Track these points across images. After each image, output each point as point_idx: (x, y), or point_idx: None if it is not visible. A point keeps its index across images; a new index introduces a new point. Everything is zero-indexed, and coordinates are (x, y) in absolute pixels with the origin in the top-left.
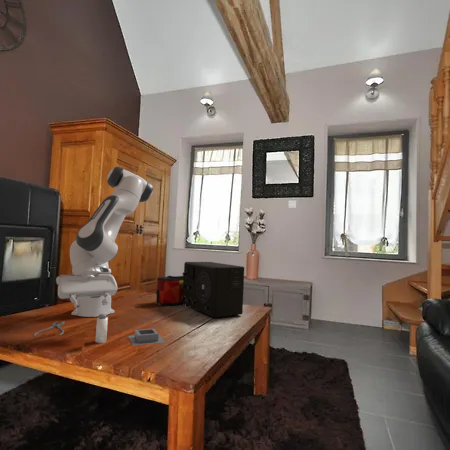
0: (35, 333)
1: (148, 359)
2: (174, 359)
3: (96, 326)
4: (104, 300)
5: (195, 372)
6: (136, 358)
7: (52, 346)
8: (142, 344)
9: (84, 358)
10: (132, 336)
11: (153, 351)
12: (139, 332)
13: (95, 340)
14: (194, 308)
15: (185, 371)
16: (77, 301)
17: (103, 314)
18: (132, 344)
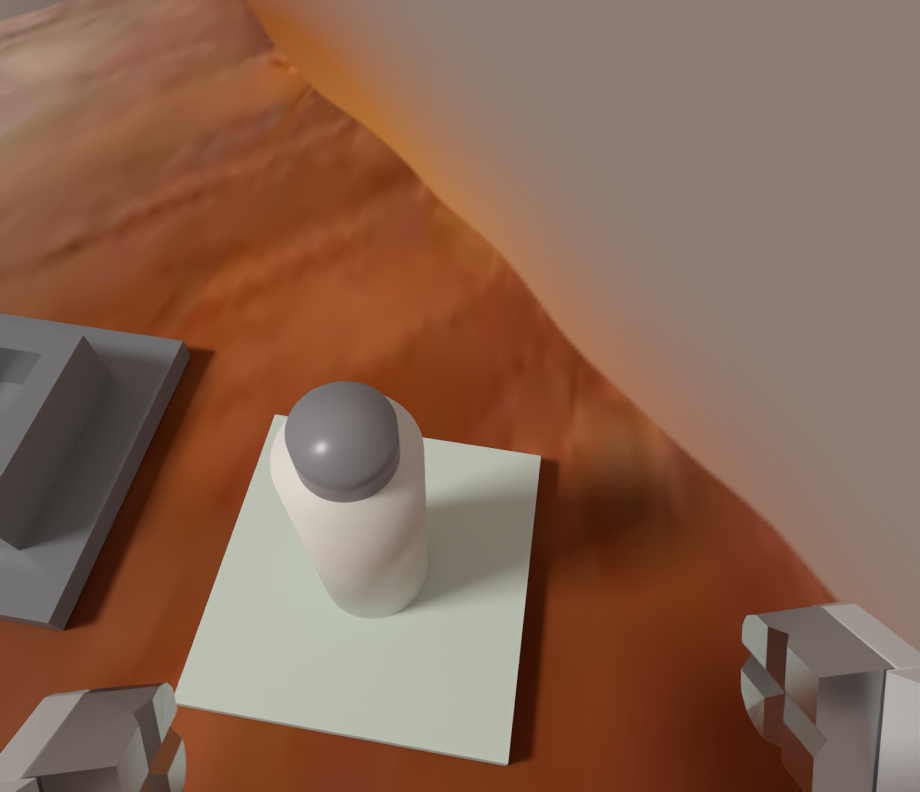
0: None
1: (210, 170)
2: (89, 121)
3: (425, 508)
4: (116, 719)
5: (124, 5)
6: (262, 205)
7: None
8: (103, 330)
9: (554, 325)
10: (26, 576)
11: (100, 253)
12: (5, 413)
13: (427, 564)
14: None
15: (152, 23)
16: (867, 648)
17: (329, 428)
18: (170, 360)
